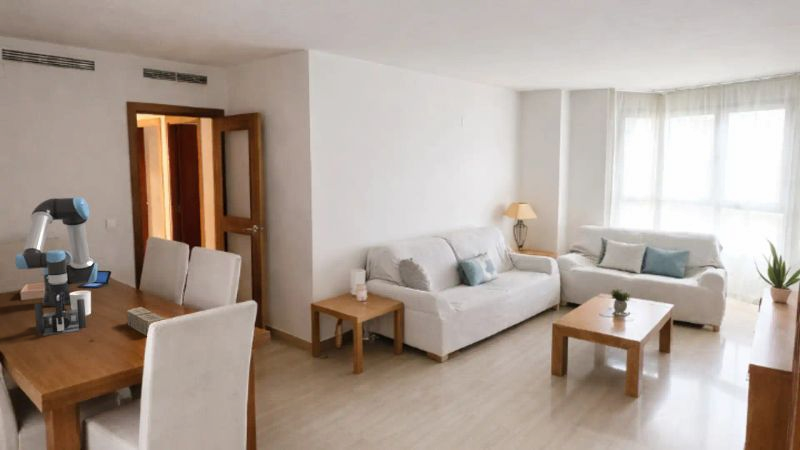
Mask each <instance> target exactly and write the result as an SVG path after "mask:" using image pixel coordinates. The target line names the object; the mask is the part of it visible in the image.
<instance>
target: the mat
mask: <svg viewBox="0 0 800 450" xmlns="http://www.w3.org/2000/svg"><path fill="white" fill-rule="evenodd" d="M79 329H80V328H79V324H74V325H69V326H68V327H67V328H66V329H65V330H63V331H57V332H53V329H52V328H44V331H45V332H44V333H43V334H42V335H43V336H44V337H45V336H53V335H59V334H67V333H74V332H79Z"/></svg>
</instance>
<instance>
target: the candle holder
mask: <svg viewBox="0 0 800 450" xmlns="http://www.w3.org/2000/svg"><path fill="white" fill-rule="evenodd" d="M69 295H70V302H71V303H70V306H71V307H70V308H71V310H78V307H77V300H78V299H84V304H85V317H87V316H88V315H89V316H90V315H91V313H92V291H91V290H77V291H73V292H72V291H71V293H70V294H69Z"/></svg>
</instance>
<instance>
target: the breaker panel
mask: <svg viewBox="0 0 800 450" xmlns="http://www.w3.org/2000/svg"><path fill="white" fill-rule="evenodd" d="M65 312H66V313H68V314H69V316H70V325H76V324H79V320H78V310H72V309H71V310H67V311H65ZM52 315H56V311H55V312H46V313H43V320H44V329H46V328H52V326H53V323H52Z"/></svg>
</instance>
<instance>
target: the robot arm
mask: <svg viewBox="0 0 800 450" xmlns="http://www.w3.org/2000/svg"><path fill="white" fill-rule="evenodd" d="M89 218H90V208H89V204H88V202H87V200H86V199H85V198H83V197H80V198H79V197H64V198H61V197H60V198H54V197H52V198H48V199H46V200H44V201H42V202H40V203H39V204H38V205H37V206H36V207H35V208H34V209H33V211H32V212H31V215H30V221H31V225H30V228H29V230H28V235H27V238H26V242H25V244H24V245H25V246H24V250H23V253H18V254H16V256H15V259H14V263H15V267H16V268H17V269H18V270H33V269H43V274H42V275H43V283H44V284H45V294H44V297H43V298H42V300H41V301H42V303H41V304H42V307H50V308H51V307H55V312H56V317H54V318H56V320H57V331H63V330H64V320H63V312H65V311H68V310H67V307H66V305H71V302H70V295H69V294H70V293H72V291H71V290H70V285H82V284H85V283H87V284H88V283H93V282H95V281H96V278H97V271H99V270H98V263H97V262H94V259H93V258H91V257H90V249H89V244H88V239H87V238H88V237H87V230H86V224H85V223H87V221H88V219H89ZM55 220H56V221H58V220H59V221H61V222H62V224H63V225H64V226H66V231H67V236H68V242H69V247H70V252H69V251H67V250H63V249H54V250H48V251H47V252H43V251H44V247H45V243H46V239H47V235H48V231H49V227H50V225H51V224H52V223H53V222H54V221H55ZM59 314H61V315H59Z"/></svg>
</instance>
